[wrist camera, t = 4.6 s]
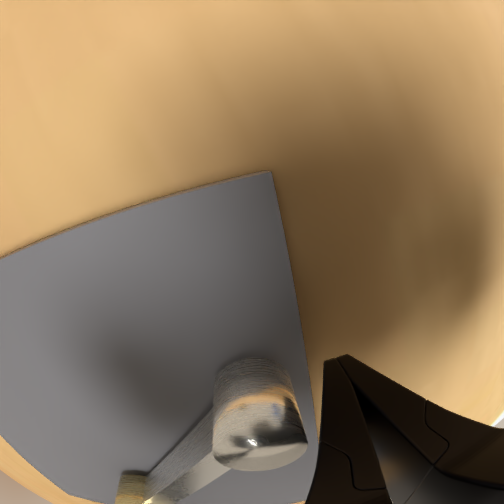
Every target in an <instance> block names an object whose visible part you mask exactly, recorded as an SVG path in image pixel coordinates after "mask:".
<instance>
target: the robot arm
mask: <svg viewBox="0 0 504 504" xmlns="http://www.w3.org/2000/svg"><path fill="white" fill-rule="evenodd" d="M390 498H391V499H390ZM391 500H392V501H391ZM392 502H393V503H392ZM305 504H504V428H496V427H492V426H489V425H486V424H483V423H480V422H477V421H474V420H471V419H469V418H466V417H463V416H461V415H458V414H456V413H453V412H451V411H448V410H446V409H444V408H442V407H440V406H438V405H436V404H434V403H433V402H431V401H429V400H426V399H425V398H423V397H421V396H420V395H418V394H416V393H414V392H412V391H411V390H409V389H407V388H405V387H404V386H402V385H400V384H398V383H396V382H395V381H393V380H391V379H389V378H388V377H386V376H384V375H383V374H381V373H379V372H377V371H376V370H374V369H372V368H371V367H369V366H367V365H365V364H364V363H362V362H360V361H359V360H357V359H355V358H354V357H352V356H350V355H348V354H345V355H342V356H339V357H336V358H332V359H329V360H326V361H324V368H323V392H322V410H321V424H320V437H319V446H318V455H317V462H316V468H315V472H314V476H313V480H312V483H311V487H310V490H309V493H308V496H307V499H306V502H305Z"/></svg>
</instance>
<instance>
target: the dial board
mask: <svg viewBox="0 0 504 504" xmlns="http://www.w3.org/2000/svg"><path fill="white" fill-rule="evenodd" d="M246 358H265V359H269V360H272V361H275V362H277V363H279V364H280V365H282V366H283V367H284V368H285V369H286V370H287V372H288V373H289V376H290V380H291V383H292V387H293V390H294V394H295V398H296V401H297V405H298V408H299V412H300V416H301V419H302V423H303V426H304V430H305V434H306V437H307V441H308V447H307V449H306V451H305V453H304V454H303V455H302V456H301V457H299V458H298V459H297V460H295V461H293V462H292V463H290V464H287V465H285V466H282V467H279V468H275V469H271V470H265V471H241V470H236V469H232V468H231V469H230V470H228V471H227V472H225V473H224V474H222V475H221V476H220V477H218V478H216V479H215V480H213V481H212V482H210V483H209V484H207V485H206V486H204V487H202V488H201V489H199V490H198V491H196V492H194V493H193V494H191V495H189V496H187V497H186V498H184V499H182V500H180V501H179V502H177V503H176V504H291V503H296V502H301V501H305V500H306V499H307V496H308V493H309V490H310V487H311V483H312V480H313V476H314V472H315V468H316V462H317V455H318V446H319V445H318V437H317V429H316V421H315V413H314V406H313V399H312V392H311V385H310V378H309V371H308V365H307V358H306V352H305V345H304V339H303V333H302V327H301V321H300V315H299V309H298V304H297V298H296V292H295V287H294V281H293V276H292V270H291V265H290V260H289V255H288V249H287V244H286V239H285V234H284V229H283V224H282V219H281V214H280V210H279V205H278V200H277V195H276V191H275V186H274V181H273V177H272V172H270V171H266V170H265V171H260V172H256V173H251V174H247V175H242V176H238V177H234V178H230V179H226V180H222V181H218V182H214V183H210V184H206V185H202V186H199V187H195V188H191V189H188V190H184V191H180V192H177V193H173V194H170V195H167V196H163V197H160V198H157V199H153V200H150V201H147V202H144V203H140V204H137V205H134V206H131V207H128V208H125V209H122V210H119V211H116V212H113V213H110V214H107V215H104V216H101V217H99V218H96V219H93V220H90V221H87V222H85V223H82V224H79V225H77V226H74V227H71V228H69V229H66V230H64V231H61V232H59V233H56V234H54V235H51V236H49V237H46V238H44V239H41V240H39V241H37V242H34V243H32V244H30V245H27V246H25V247H23V248H20V249H18V250H16V251H14V252H11V253H9V254H7V255H5V256H3V257H1V258H0V435H1V436H2V437H3V438H4V439H5V440H6V441H7V442H8V443H9V444H10V445H11V446H12V447H13V448H14V449H15V450H16V451H17V452H18V453H19V454H20V455H21V456H22V457H23V458H24V459H25V460H26V461H27V462H28V463H30V464H31V465H32V466H33V467H34V468H35V469H36V470H38V471H39V472H40V473H41V474H42V475H44V476H45V477H46V478H47V479H49V480H50V481H51V482H53V483H54V484H55V485H56V486H58V487H59V488H60V489H62V490H63V491H65V492H66V493H67V494H69V495H72V496H75V497H79V498H83V499H87V500H91V501H95V502H100V503H104V504H114V503H115V499H116V494H117V489H118V484H119V480H120V477H121V476H122V475H127V474H131V475H140V476H145V477H146V476H147V475H148V474H149V473H150V472H152V471H153V470H154V469H155V468H156V467H157V466H158V465H159V464H160V463H161V462H162V461H163V460H164V459H165V458H166V457H167V456H168V455H169V454H170V453H171V452H172V451H173V450H174V449H175V448H176V447H177V446H178V445H179V444H180V443H181V442H182V440H183V439H184V438H185V437H186V436H187V435H188V434H189V433H190V432H191V431H192V430H193V429H194V428H195V427H196V426H197V425H198V424H199V422H200V421H201V420H202V419H203V418H204V417H205V416H206V415H207V414H208V413H209V412H210V410H211V409H212V408H213V399H214V381H215V378H216V376H217V374H218V373H219V371H220V370H221V369H223V368H224V367H225V366H227V365H228V364H230V363H232V362H235V361H237V360H241V359H246Z"/></svg>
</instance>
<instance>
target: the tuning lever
mask: <svg viewBox="0 0 504 504" xmlns="http://www.w3.org/2000/svg"><path fill="white" fill-rule="evenodd" d="M307 447H308V441H307V437H306V434H305V430H304V426H303V423H302V419H301V416H300V412H299V408H298V405H297V401H296V398H295V394H294V390H293V387H292V383H291V380H290V376H289V373H288V372H287V370H286V369H285V368H284V367H283V366H282V365H280V364H279V363H277V362H275V361H272V360H269V359H265V358H246V359H241V360H237V361H235V362H232V363H230V364H228V365H227V366H225V367H224V368H223V369H221V370H220V371H219V373H218V374H217V376H216V378H215V381H214V399H213V408H212V409H211V410H210V412H209V413H208V414H207V415H206V416H205V417H204V418H203V419H202V420H201V421H200V422H199V424H198V425H197V426H196V427H195V428H194V429H193V430H192V431H191V432H190V433H189V434H188V435H187V436H186V437H185V438H184V439H183V440H182V442H181V443H180V444H179V445H178V446H177V447H176V448H175V449H174V450H173V451H172V452H171V453H170V454H169V455H168V456H167V457H166V458H165V459H164V460H163V461H162V462H161V463H160V464H159V465H158V466H157V467H156V468H155V469H154V470H153V471H152V472H150V473H149V474H148V475H147V476H146V477H145V476H140V475H131V474H127V475H122V476H121V477H120V480H119V484H118V489H117V494H116V499H115V503H114V504H176V503H177V502H179V501H180V500H182V499H184V498H186V497H187V496H189V495H191V494H193V493H194V492H196V491H198V490H199V489H201V488H202V487H204V486H206V485H207V484H209V483H210V482H212V481H213V480H215V479H216V478H218V477H220V476H221V475H222V474H224V473H225V472H227V471H228V470H230V469H231V468H232V469H236V470H241V471H265V470H271V469H275V468H279V467H282V466H285V465H287V464H290V463H292V462H293V461H295V460H297V459H298V458H299V457H301V456H302V455H303V454H304V453H305V451H306V449H307Z"/></svg>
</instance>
